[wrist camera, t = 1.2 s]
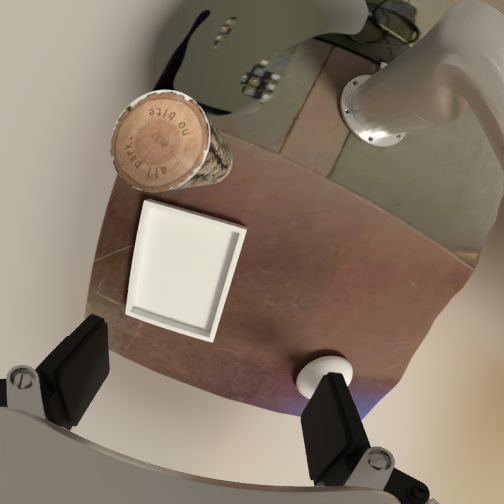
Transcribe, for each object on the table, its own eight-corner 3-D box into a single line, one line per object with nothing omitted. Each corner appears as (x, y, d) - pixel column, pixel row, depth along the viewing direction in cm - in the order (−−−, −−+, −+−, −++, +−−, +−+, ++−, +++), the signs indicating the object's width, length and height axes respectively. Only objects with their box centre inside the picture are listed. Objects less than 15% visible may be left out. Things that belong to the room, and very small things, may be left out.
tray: (149, 198, 41) (144, 200, 38) (247, 226, 42) (246, 229, 40) (130, 308, 46) (125, 314, 43) (214, 335, 47) (212, 342, 45)
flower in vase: (360, 367, 50) (406, 460, 25) (320, 400, 52) (346, 495, 28) (320, 336, 47) (362, 445, 23) (277, 374, 50) (290, 484, 25)
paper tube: (210, 193, 41) (153, 214, 17) (180, 161, 39) (93, 145, 15) (243, 162, 40) (232, 138, 15) (213, 131, 38) (163, 70, 14)
